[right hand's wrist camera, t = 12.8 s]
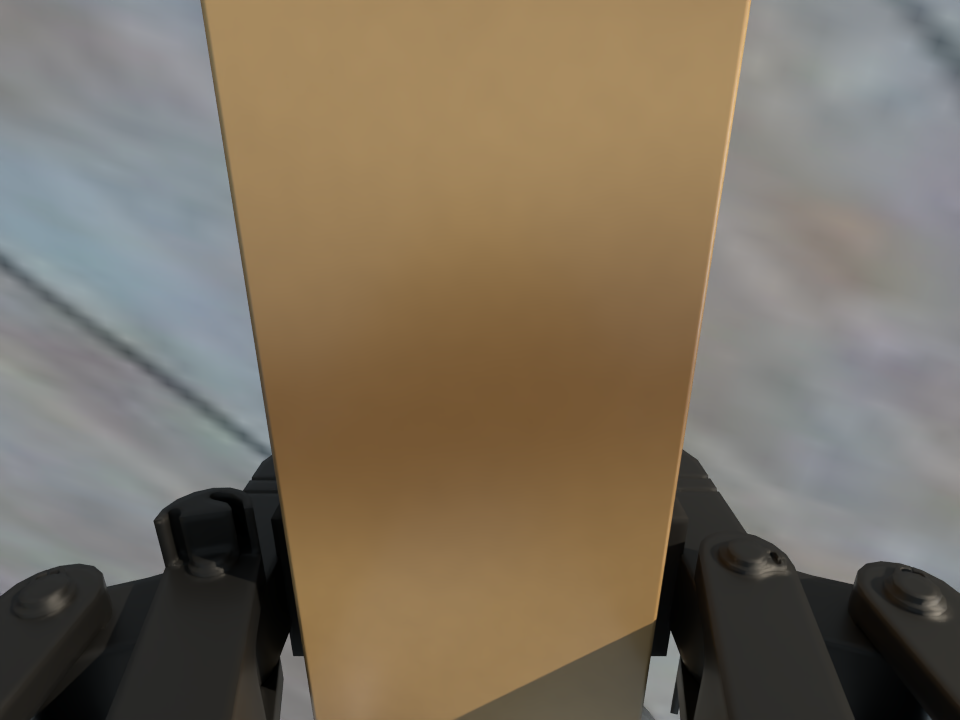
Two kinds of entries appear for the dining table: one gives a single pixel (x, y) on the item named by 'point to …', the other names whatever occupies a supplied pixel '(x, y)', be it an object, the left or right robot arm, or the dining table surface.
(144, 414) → the dining table surface
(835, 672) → the right robot arm
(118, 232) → the dining table surface
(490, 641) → the bar
